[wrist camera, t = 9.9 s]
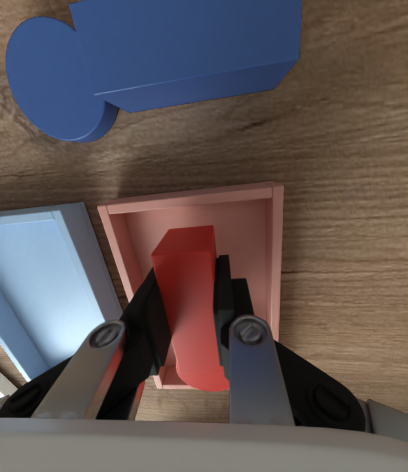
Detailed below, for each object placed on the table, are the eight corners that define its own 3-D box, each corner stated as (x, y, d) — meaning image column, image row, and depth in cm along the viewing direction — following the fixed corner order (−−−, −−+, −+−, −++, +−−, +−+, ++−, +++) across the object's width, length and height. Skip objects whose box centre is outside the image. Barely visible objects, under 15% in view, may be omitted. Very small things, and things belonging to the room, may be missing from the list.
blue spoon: (276, -15, 8) (309, -115, 5) (274, 115, 9) (297, 96, 6) (13, 43, 9) (-81, -8, 6) (52, 147, 10) (-8, 144, 8)
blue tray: (84, 201, 12) (59, 209, 10) (141, 364, 17) (132, 388, 15) (-43, 215, 13) (-86, 225, 11) (49, 365, 18) (31, 388, 16)
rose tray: (273, 180, 10) (284, 185, 9) (270, 363, 16) (277, 390, 14) (115, 198, 11) (96, 205, 10) (163, 364, 17) (157, 389, 15)
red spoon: (150, 230, 10) (125, 256, 8) (233, 222, 10) (238, 248, 7) (184, 373, 15) (176, 424, 12) (243, 373, 14) (249, 426, 11)
